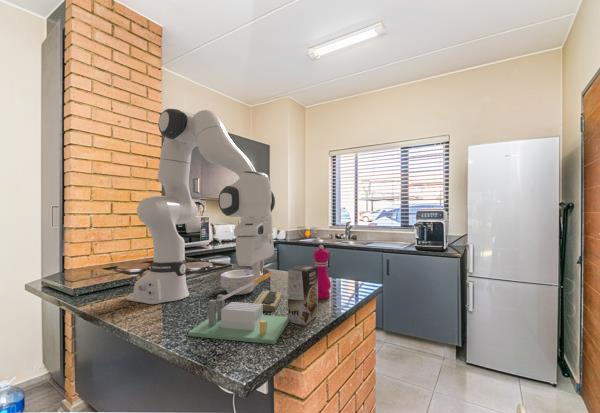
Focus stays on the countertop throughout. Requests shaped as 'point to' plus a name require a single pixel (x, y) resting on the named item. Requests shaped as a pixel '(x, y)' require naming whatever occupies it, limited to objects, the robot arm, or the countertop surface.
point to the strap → (245, 287)
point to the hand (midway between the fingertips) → (258, 276)
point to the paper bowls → (237, 281)
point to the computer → (268, 300)
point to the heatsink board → (243, 334)
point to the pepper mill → (322, 272)
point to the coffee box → (302, 294)
